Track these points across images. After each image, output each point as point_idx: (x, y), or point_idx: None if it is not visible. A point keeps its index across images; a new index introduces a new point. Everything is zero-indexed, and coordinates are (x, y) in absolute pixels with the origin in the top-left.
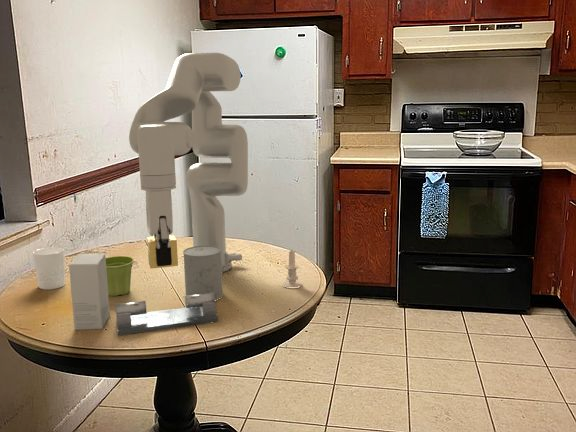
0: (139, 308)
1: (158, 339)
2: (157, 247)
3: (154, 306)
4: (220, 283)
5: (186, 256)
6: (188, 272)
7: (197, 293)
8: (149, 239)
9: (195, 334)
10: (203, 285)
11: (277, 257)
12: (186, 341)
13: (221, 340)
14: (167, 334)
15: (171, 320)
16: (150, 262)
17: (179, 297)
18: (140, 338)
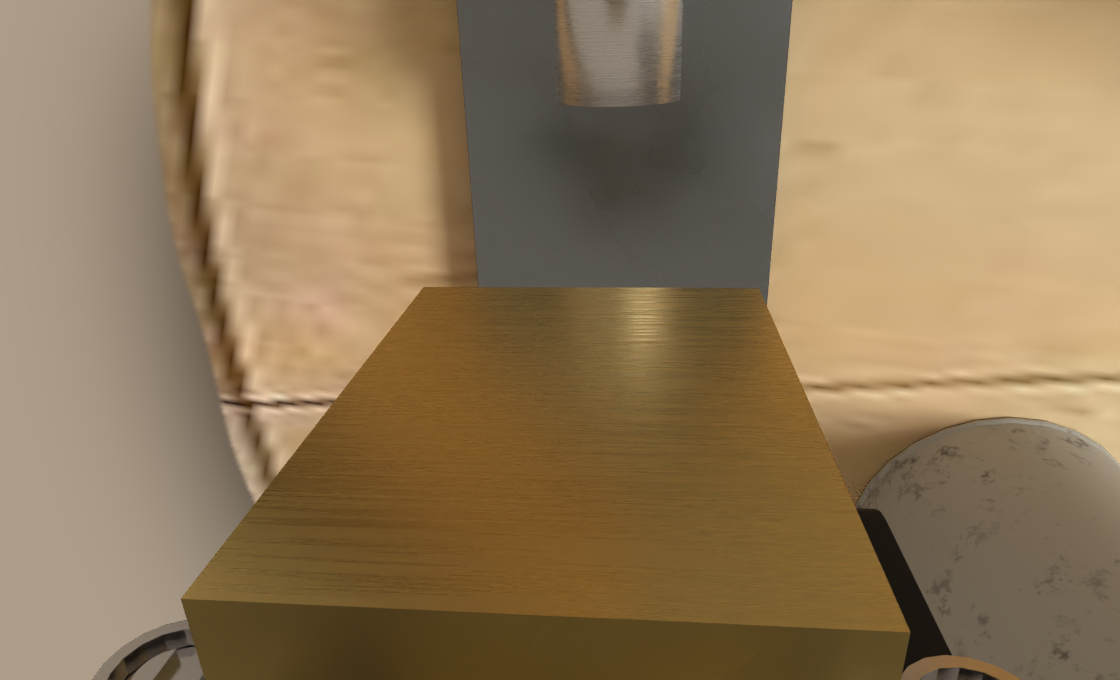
0: (556, 37)
1: (322, 146)
2: (113, 661)
3: (978, 173)
4: None
5: None
6: (1050, 593)
7: (899, 520)
8: (555, 659)
9: (352, 372)
10: None
11: None
12: (263, 309)
13: (247, 479)
14: (390, 212)
15: (540, 268)
16: (390, 331)
17: (1074, 380)
18: (364, 20)
